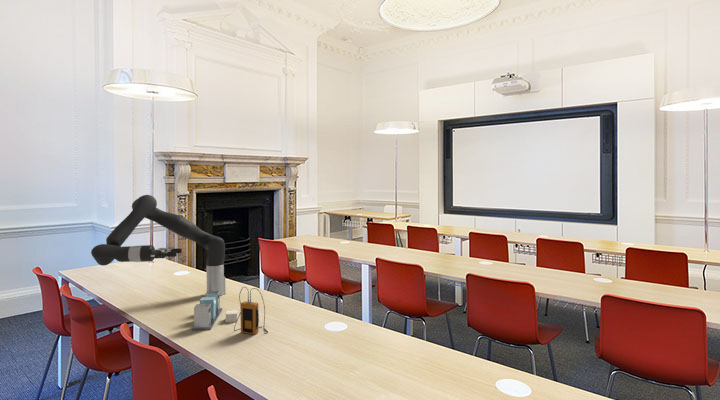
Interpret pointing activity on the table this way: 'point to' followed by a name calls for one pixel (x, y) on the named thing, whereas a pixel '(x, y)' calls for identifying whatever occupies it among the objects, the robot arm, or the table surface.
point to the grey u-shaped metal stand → (206, 313)
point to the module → (213, 304)
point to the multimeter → (249, 316)
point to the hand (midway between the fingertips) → (179, 252)
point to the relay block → (231, 316)
